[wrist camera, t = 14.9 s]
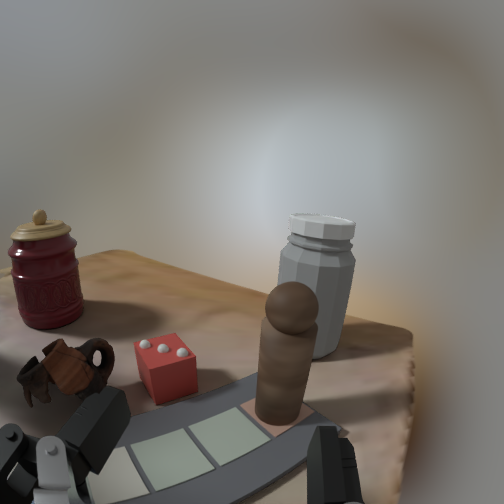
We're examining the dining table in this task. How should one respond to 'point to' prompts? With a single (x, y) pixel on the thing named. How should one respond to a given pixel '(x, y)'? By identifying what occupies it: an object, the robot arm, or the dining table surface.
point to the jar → (321, 270)
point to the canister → (46, 273)
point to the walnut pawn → (285, 352)
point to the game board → (204, 451)
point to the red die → (166, 368)
